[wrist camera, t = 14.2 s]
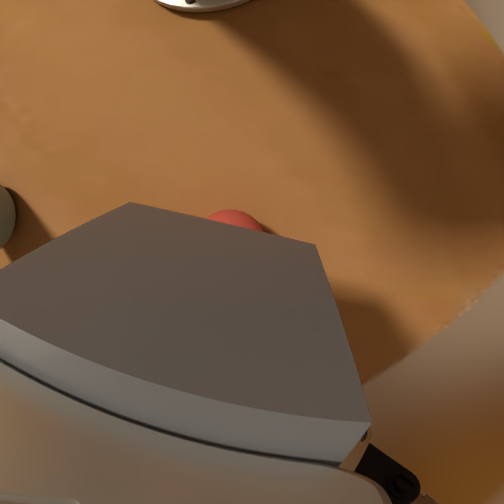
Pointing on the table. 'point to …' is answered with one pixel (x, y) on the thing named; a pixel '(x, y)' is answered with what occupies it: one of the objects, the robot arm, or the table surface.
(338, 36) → the table surface
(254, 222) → the ball
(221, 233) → the matte gray cube
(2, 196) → the cup
